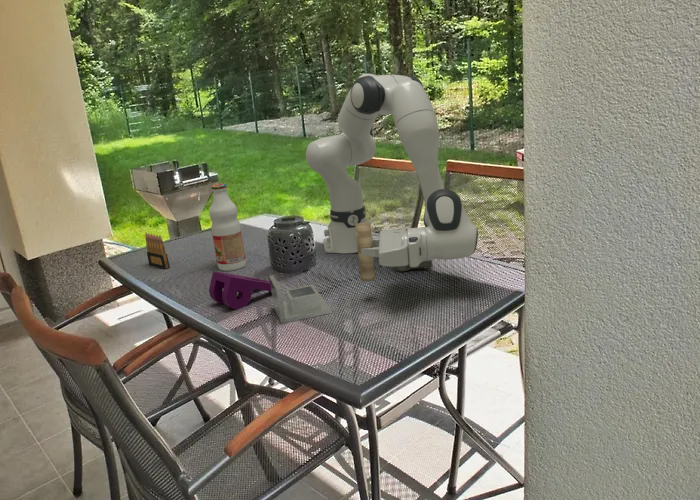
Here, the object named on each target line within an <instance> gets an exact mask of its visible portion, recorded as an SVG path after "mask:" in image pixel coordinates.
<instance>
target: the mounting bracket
mask: <svg viewBox="0 0 700 500" xmlns="http://www.w3.org/2000/svg"><path fill="white" fill-rule="evenodd" d="M254 290H260V291H261V290H262V291H267V292H271V286H270V280H265V279H259V278H256V277H250V276H245V275H239V274H233V273H226V272H220V271H215V270H213V271H212V275H211V279H210V284H209V289H208V292H209V296H210V298H211V300H212V301H214V302H216V303H219V304H221V305H226V306H227V307H229V308H230V309H233V310H240V309H243V308H244V306H245V307H246V306H247V305H248V304H249V303H250V301H251V299H252V295H253V291H254Z"/></svg>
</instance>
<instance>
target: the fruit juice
mask: <svg viewBox="0 0 700 500" xmlns="http://www.w3.org/2000/svg"><path fill="white" fill-rule="evenodd" d="M227 189H228V185H227V183H224V182H223V183H221V182H220V183H215V184H212V185H211V191H212V193H213V194H212V197H213V198H212V203H211V205H210V207H209V209H208V210H209V211H208V214H209V218H210V220H211V225H210V226H211V236H212V240H213V246H214V251H215V252H214V253H215V257H216V262H217V267H218V270H220V271H224V272H229V271H237V270H240V269H242V268H244V267H246V263H247V260H246V253H245V247H244V241H243V233H242V227H241V224H240V221H239V219H238V208H237V207H238V206H237V205H236V204H235V203H234V201H232V199H231V198H230V195H228V191H227Z"/></svg>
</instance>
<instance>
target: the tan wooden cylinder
mask: <svg viewBox="0 0 700 500" xmlns="http://www.w3.org/2000/svg"><path fill="white" fill-rule="evenodd" d="M370 223H371V222H370ZM370 223H367V222H364V223H358V224H356V225H355V228H356V238H357V249H358V252H357V256H358V257H357V259H358V269H359V278H360V281H362V282H373V281H374V280H376V271H375V269H376V268H375V260H374V258H375V257H373V256H368V255H367V256H362V255H361V249H362V248H363V247H364V248H365V247H368V248H374V247H373V245H372V237H373V232H372V233H371V230H372V225H371V224H370Z"/></svg>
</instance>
